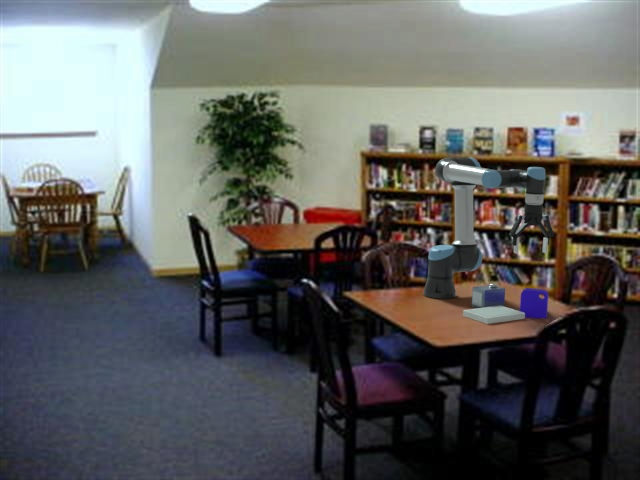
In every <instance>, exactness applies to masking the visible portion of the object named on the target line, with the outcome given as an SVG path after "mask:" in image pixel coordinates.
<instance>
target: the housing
mask: <svg viewBox="0 0 640 480" xmlns="http://www.w3.org/2000/svg"><path fill="white" fill-rule="evenodd" d="M471 292H472V295H471V307H473V308H474V309H477V308H485V307H493V306H504V307H505V300H506V299H505V297H506V288H505V287H502V286H501V285H498V284H497V283H489V284H488V285H479V286H478V285H477V286H472V291H471Z"/></svg>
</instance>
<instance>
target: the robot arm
mask: <svg viewBox="0 0 640 480" xmlns="http://www.w3.org/2000/svg"><path fill="white" fill-rule="evenodd" d="M434 169H435V176H436V177H437V178H438V179H439V180H440V181H442V182H445V183H451V187H452V188H453V190H454V238H455V239H454V241H453V242H451V245H450V244H440V245H435V246H432V247H430V248H429V252H428V256H427V257H428V267H427V279H426V283H425V286H424V288H423V293H422V294H423V296H424V297H428V298H433V299H439V300H440V299H444V300H446V299H453V298H456V297H457V291H456V287H455V284H454V283H455V282H454V273H463V272H465V273H466V272H467V273H468V272H473V271H476V270H477V269H479V267H480V266H481V264H482V261H483V252H482V251H481V248H480V247H478V243H477V242H476V241H475V239H474V189H475V188H476V186H477V185H479V186H484V187H485V188H487V189H503V188H504V189H506V188H508V189H509V188H512V189H513V188H514V189H515V188H521V189H525V198H524V203H525V204H524V211H523V212H524V214H523V215H521V214H517V215H516V220H515V222H514V223H513V226H512V227H511V230H510V231H509V233H508V236H509V237H511V238H512V246H513V253H514V254H516V255H518V254H519V247H520V246H519V244H520V238H519V237H520V235H521V234H523V232H524V231H525V230H526V228H528V227H529V226H530V227H531V226H532V227H533V226H537V227H538V228H539V229H540V231H541V233H542V234H543V235H544V237H543V240H542V251H541V252H542V254H543V253H544V254H548V247H549V246H550V240H551V238H553V237H555V232H554V230H553V228H552V225H551V223H550V215H547V214H543V212H544V211H543V210H544V205H543V204H544V199H545V198H544V197H545V195H544V194H545V187H546V186H545V184H546V179H547V178H546V168H544V167H540V166H530V167H528V168H527V170H524V169H523V170H522V169H518V168H516V169H513V168H512V169H502V170H501V169H491V168H484V167H482V166H481V165H480V161H479V162H478V160H477V158H475V157H468V156H462V157H457V156H456V157H454V156H453V157H451V156H449V157H444V158H442V159H440V160H439V161H438V162H437V163H436V166H435V168H434ZM542 220H543V221H544V224H543V222H542ZM522 221H523V222H522ZM544 225H545V226H544Z"/></svg>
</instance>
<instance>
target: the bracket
mask: <svg viewBox="0 0 640 480" xmlns="http://www.w3.org/2000/svg"><path fill="white" fill-rule="evenodd" d="M540 295H543V296H544V297H540ZM519 304H520V306H519V311H520V312H524V313H525V318H530V319H531V318H533V319H539V318H546V317H547V318H548V310H549V309H548V306H549V292H548V291H547V290H546V289H543V288H541V289H540V288H531V287H525V288H524V289H523V290H522V291H521V294H520V303H519ZM547 318H546V319H547Z"/></svg>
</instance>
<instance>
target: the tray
mask: <svg viewBox="0 0 640 480" xmlns="http://www.w3.org/2000/svg"><path fill="white" fill-rule="evenodd" d="M462 316H463V317H465V318H468V319H471V320H474V321H477V322H480V323H483V324H486V325H489V324H496V323H503V322H510V321H516V320H517V321H518V320H524V319H526V317H525V313H524V312H520V310H516V309H513V308H510V307H506V306H505V305H504V306H493V307H485V308H471V309H463V310H462Z"/></svg>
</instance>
